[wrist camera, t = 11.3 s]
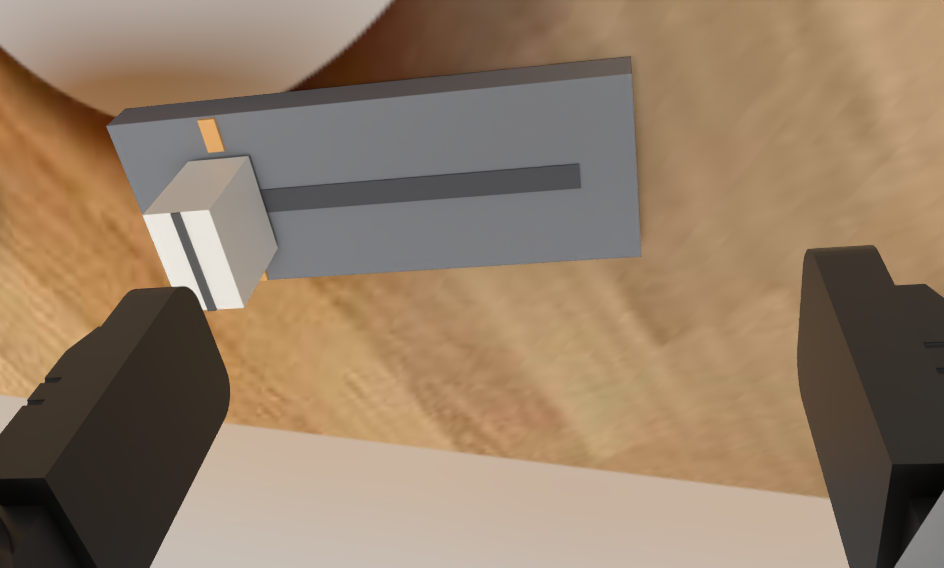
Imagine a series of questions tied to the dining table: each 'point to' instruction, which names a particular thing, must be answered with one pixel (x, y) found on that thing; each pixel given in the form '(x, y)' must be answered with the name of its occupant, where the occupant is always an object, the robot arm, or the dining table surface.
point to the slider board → (418, 167)
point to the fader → (213, 231)
